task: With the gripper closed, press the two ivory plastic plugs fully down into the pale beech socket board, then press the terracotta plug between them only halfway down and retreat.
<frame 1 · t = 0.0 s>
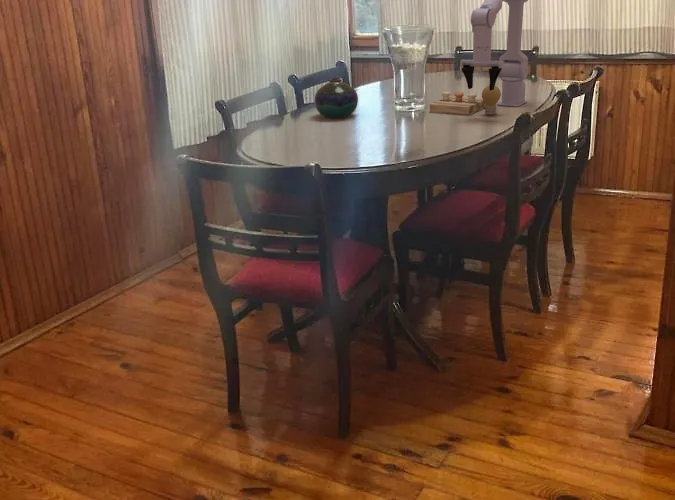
hand: (480, 89, 245), 10 cm above the table, fingers open, 7 cm apart
plug far: (446, 96, 266), point 5 cm above the table, slide at 0.0 cm
plug near: (471, 97, 260), point 5 cm above the table, slide at 0.0 cm
socket board: (458, 109, 265), on the table
vase: (336, 117, 263), on the table
plug mid: (458, 96, 263), point 5 cm above the table, slide at 0.0 cm
light bulb: (490, 115, 255), on the table
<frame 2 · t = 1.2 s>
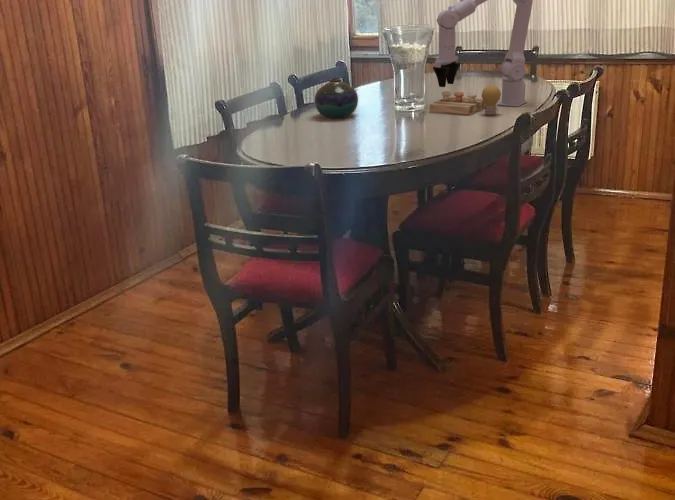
hand: (446, 85, 264), 8 cm above the table, fingers open, 6 cm apart
nothing on the table moved.
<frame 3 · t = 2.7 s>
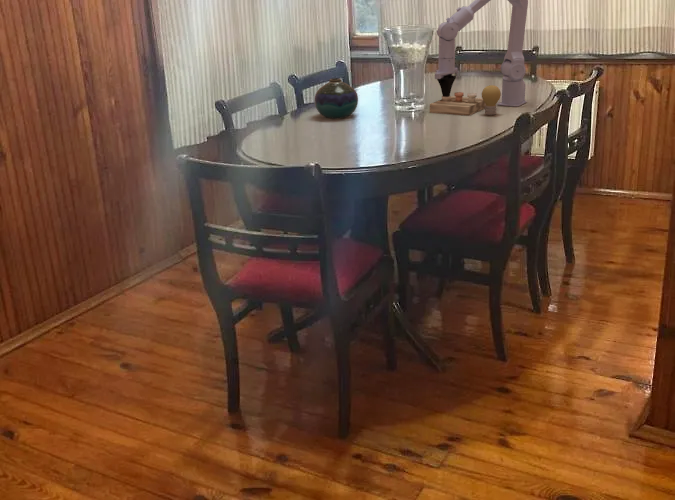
hand: (446, 96, 266), 4 cm above the table, fingers closed, pressing on plug far
plug far: (446, 100, 266), point 3 cm above the table, slide at 1.5 cm, touching gripper
everything else where it was.
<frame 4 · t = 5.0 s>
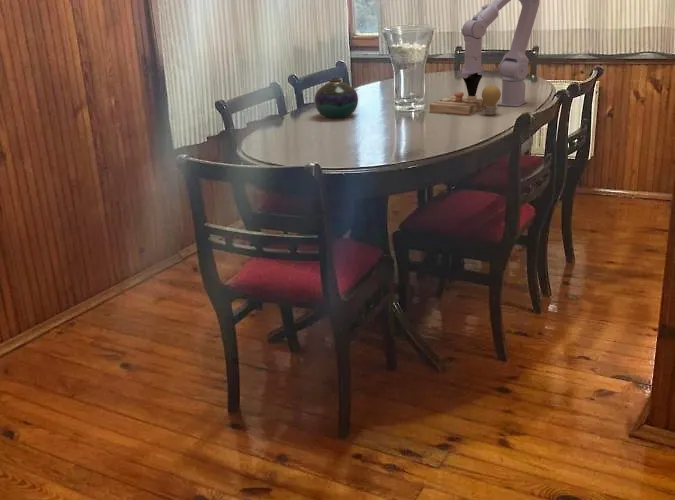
hand: (471, 95, 260), 5 cm above the table, fingers closed, pressing on plug near
plug far: (446, 102, 267), point 2 cm above the table, slide at 2.3 cm
plug near: (471, 99, 261), point 4 cm above the table, slide at 0.7 cm, touching gripper
everything else where it was.
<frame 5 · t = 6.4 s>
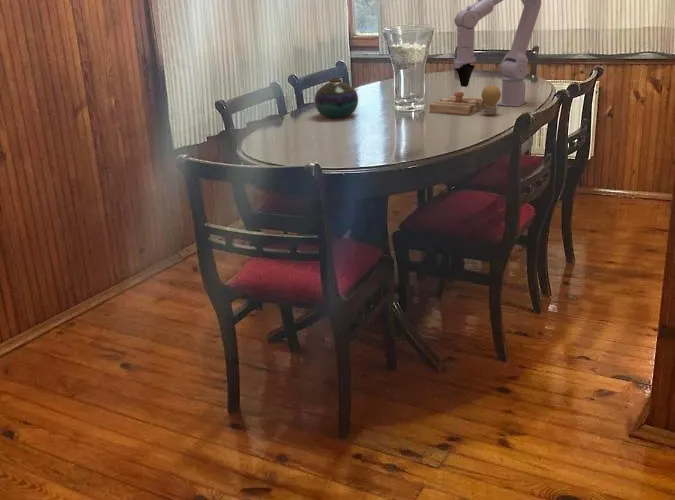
hand: (464, 86, 260), 8 cm above the table, fingers closed
plug near: (471, 104, 261), point 2 cm above the table, slide at 2.3 cm
everything else where it was.
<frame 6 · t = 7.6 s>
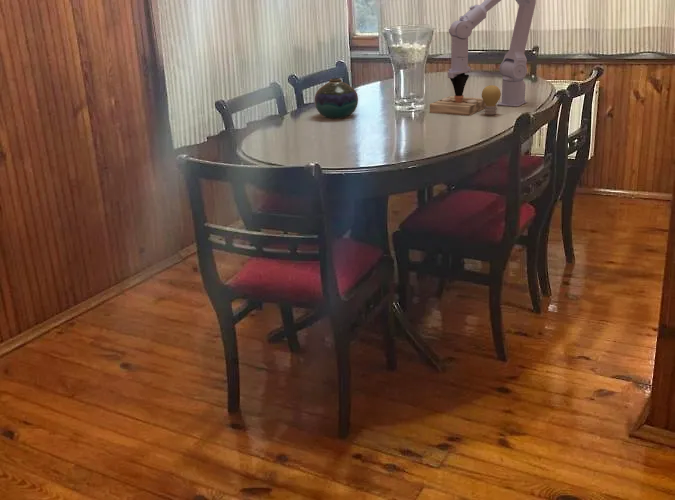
hand: (458, 95, 263), 5 cm above the table, fingers closed, pressing on plug mid
plug mid: (458, 99, 263), point 4 cm above the table, slide at 0.9 cm, touching gripper
everything else where it was.
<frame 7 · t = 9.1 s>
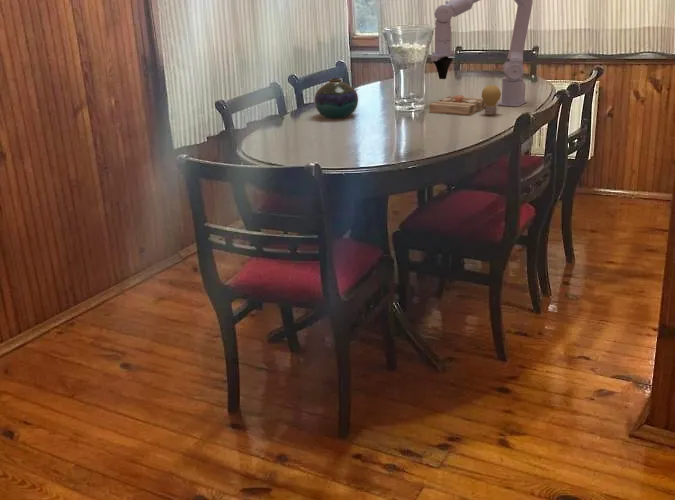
hand: (442, 78, 269), 10 cm above the table, fingers closed
plug mid: (458, 100, 263), point 3 cm above the table, slide at 1.1 cm
everything else where it was.
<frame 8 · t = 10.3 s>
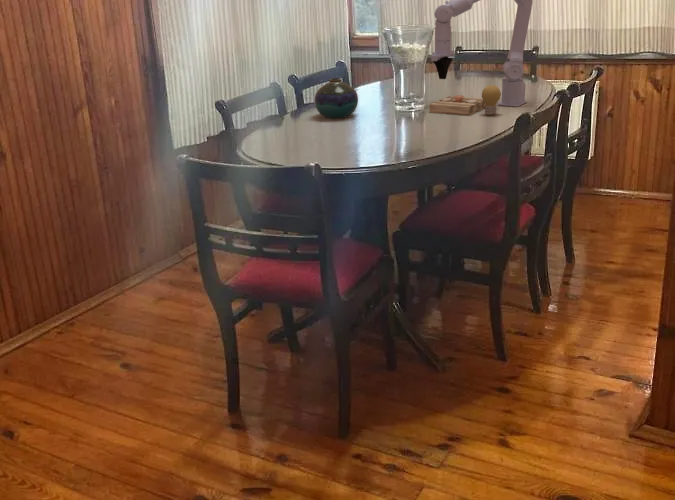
hand: (442, 78, 269), 10 cm above the table, fingers closed
nothing on the table moved.
at the end: plug far slide at 2.3 cm; plug near slide at 2.3 cm; plug mid slide at 1.1 cm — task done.
